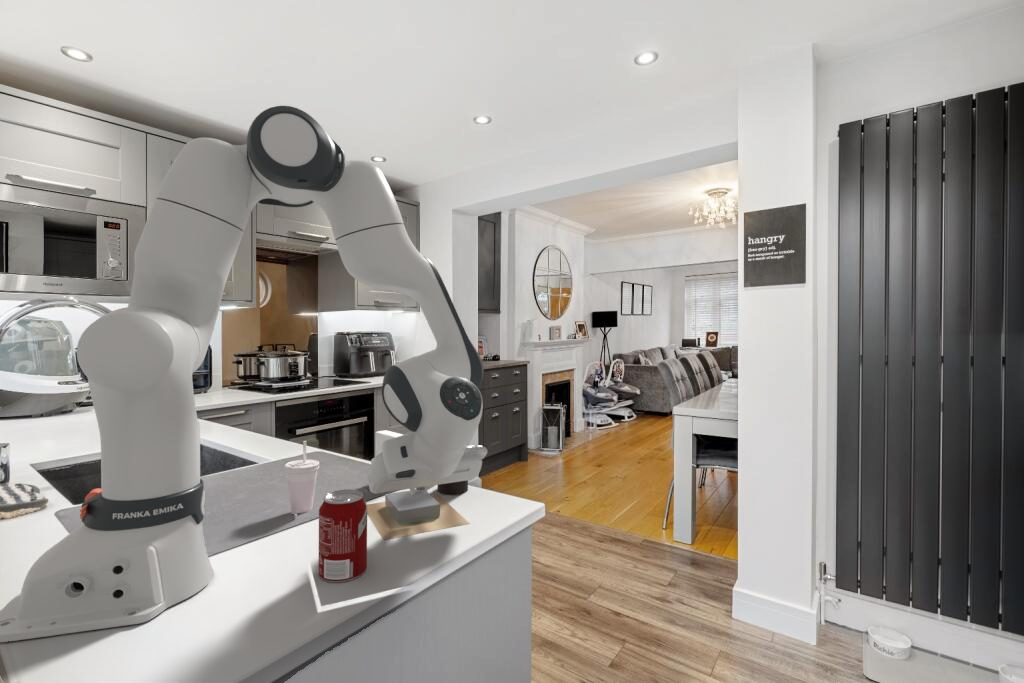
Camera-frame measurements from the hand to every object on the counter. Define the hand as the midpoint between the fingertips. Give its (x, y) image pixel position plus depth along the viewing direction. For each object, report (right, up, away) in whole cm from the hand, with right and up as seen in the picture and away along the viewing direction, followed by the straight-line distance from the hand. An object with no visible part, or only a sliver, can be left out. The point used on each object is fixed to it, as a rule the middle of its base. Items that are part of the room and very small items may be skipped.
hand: (417, 490), depth 93 cm
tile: (+1, -4, -1) cm, 4 cm away
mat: (-1, -6, +2) cm, 6 cm away
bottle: (+5, -6, +17) cm, 18 cm away
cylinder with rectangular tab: (-10, -5, +21) cm, 24 cm away
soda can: (-7, -7, -20) cm, 22 cm away
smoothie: (-24, -6, +4) cm, 25 cm away
